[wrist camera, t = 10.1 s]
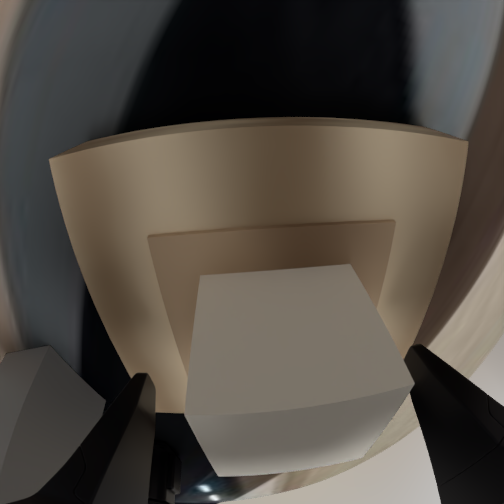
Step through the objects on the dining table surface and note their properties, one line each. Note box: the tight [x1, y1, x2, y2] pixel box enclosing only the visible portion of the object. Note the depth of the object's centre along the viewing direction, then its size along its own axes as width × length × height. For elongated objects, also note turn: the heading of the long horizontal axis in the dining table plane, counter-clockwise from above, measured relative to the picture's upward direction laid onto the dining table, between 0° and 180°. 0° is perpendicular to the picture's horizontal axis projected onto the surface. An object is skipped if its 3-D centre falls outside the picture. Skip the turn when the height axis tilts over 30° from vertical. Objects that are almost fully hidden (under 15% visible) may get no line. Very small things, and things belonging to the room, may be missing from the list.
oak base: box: [49, 117, 468, 413], centre depth 12 cm, size 14×14×3 cm
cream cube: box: [184, 264, 415, 476], centre depth 9 cm, size 5×5×5 cm
